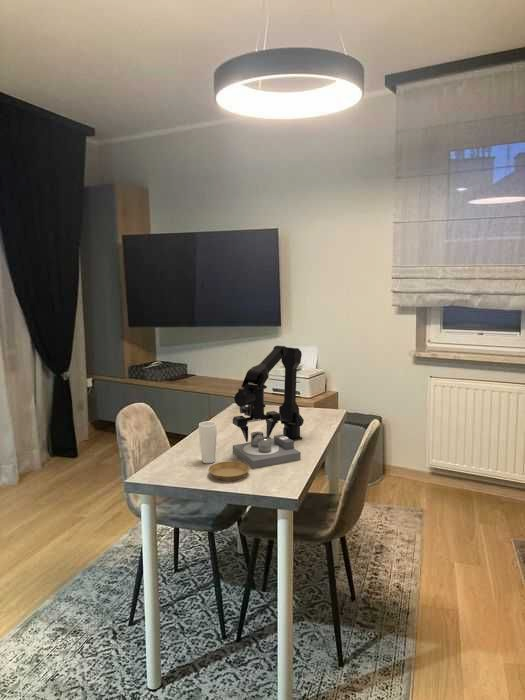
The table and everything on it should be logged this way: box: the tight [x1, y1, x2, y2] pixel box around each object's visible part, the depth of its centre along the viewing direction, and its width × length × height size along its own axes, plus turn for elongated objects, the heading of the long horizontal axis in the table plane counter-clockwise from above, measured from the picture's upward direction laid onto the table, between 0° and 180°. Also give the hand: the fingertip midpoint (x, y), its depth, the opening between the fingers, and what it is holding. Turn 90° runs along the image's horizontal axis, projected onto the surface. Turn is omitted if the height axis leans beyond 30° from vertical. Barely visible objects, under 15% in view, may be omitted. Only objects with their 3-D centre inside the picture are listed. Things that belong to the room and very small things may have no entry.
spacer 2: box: [258, 435, 272, 453], centre depth 203 cm, size 5×5×5 cm
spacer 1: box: [250, 431, 264, 448], centre depth 209 cm, size 5×5×5 cm
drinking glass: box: [198, 420, 218, 464], centre depth 202 cm, size 7×7×15 cm
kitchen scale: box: [232, 434, 302, 470], centre depth 207 cm, size 20×20×6 cm
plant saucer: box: [207, 460, 251, 482], centre depth 189 cm, size 15×15×3 cm
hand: (257, 439), depth 209 cm, fingers open, 9 cm apart
